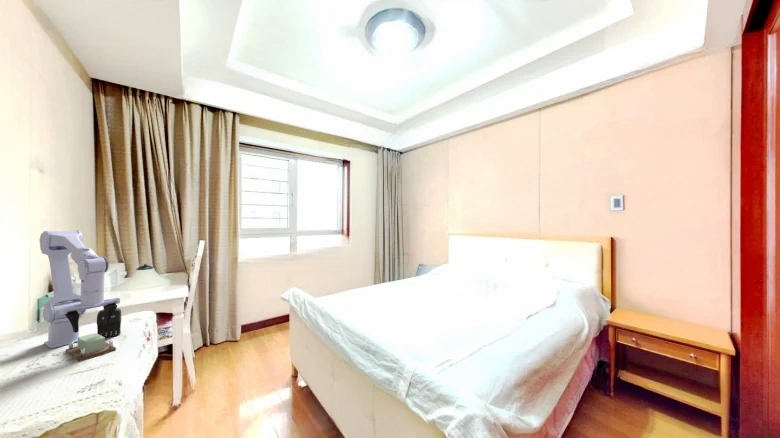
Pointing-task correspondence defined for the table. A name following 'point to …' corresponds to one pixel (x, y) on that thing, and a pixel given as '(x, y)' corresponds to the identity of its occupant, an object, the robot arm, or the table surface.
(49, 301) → the robot arm
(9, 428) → the table surface
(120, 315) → the battery charger
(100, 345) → the pale green block
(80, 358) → the chassis
